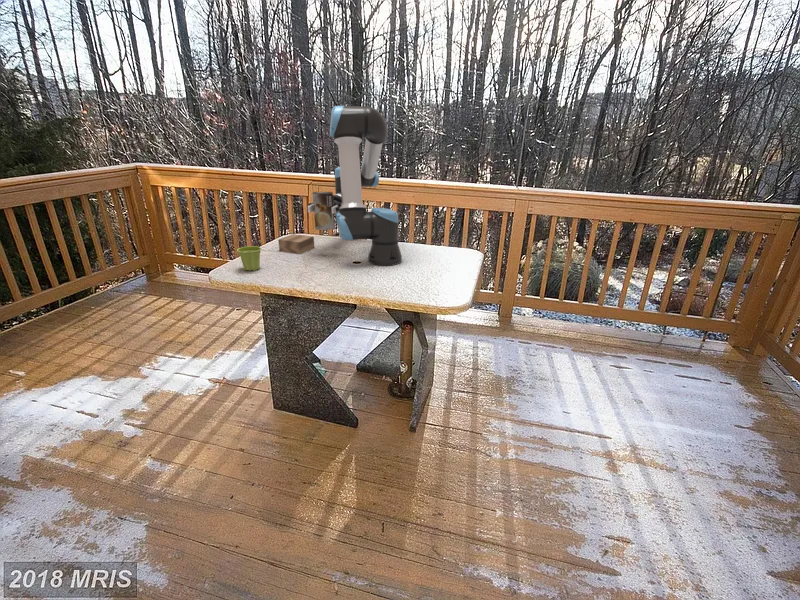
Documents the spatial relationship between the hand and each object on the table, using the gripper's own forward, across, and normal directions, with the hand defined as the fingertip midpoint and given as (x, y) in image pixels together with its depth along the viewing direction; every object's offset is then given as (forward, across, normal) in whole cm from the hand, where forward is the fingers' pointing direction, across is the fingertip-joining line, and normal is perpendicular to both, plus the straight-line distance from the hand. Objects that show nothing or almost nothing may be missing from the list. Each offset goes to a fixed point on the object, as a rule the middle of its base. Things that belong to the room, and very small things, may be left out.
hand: (320, 210), depth 174 cm
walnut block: (-9, +17, -22) cm, 29 cm away
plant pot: (+23, +23, -22) cm, 39 cm away
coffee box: (-4, 0, -9) cm, 10 cm away
